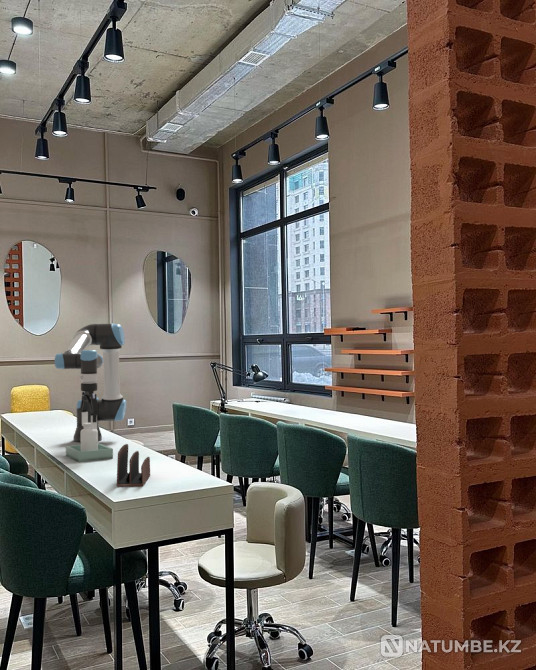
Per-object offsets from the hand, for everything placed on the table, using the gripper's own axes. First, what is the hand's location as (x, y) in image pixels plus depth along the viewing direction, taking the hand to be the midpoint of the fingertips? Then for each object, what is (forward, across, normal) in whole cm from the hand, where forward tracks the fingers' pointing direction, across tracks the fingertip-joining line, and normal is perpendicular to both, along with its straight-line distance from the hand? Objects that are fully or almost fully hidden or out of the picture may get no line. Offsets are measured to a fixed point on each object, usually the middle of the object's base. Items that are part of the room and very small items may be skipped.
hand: (89, 427), depth 308 cm
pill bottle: (+13, +1, 0) cm, 13 cm away
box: (+14, +1, 0) cm, 14 cm away
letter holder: (+13, +63, -3) cm, 64 cm away
